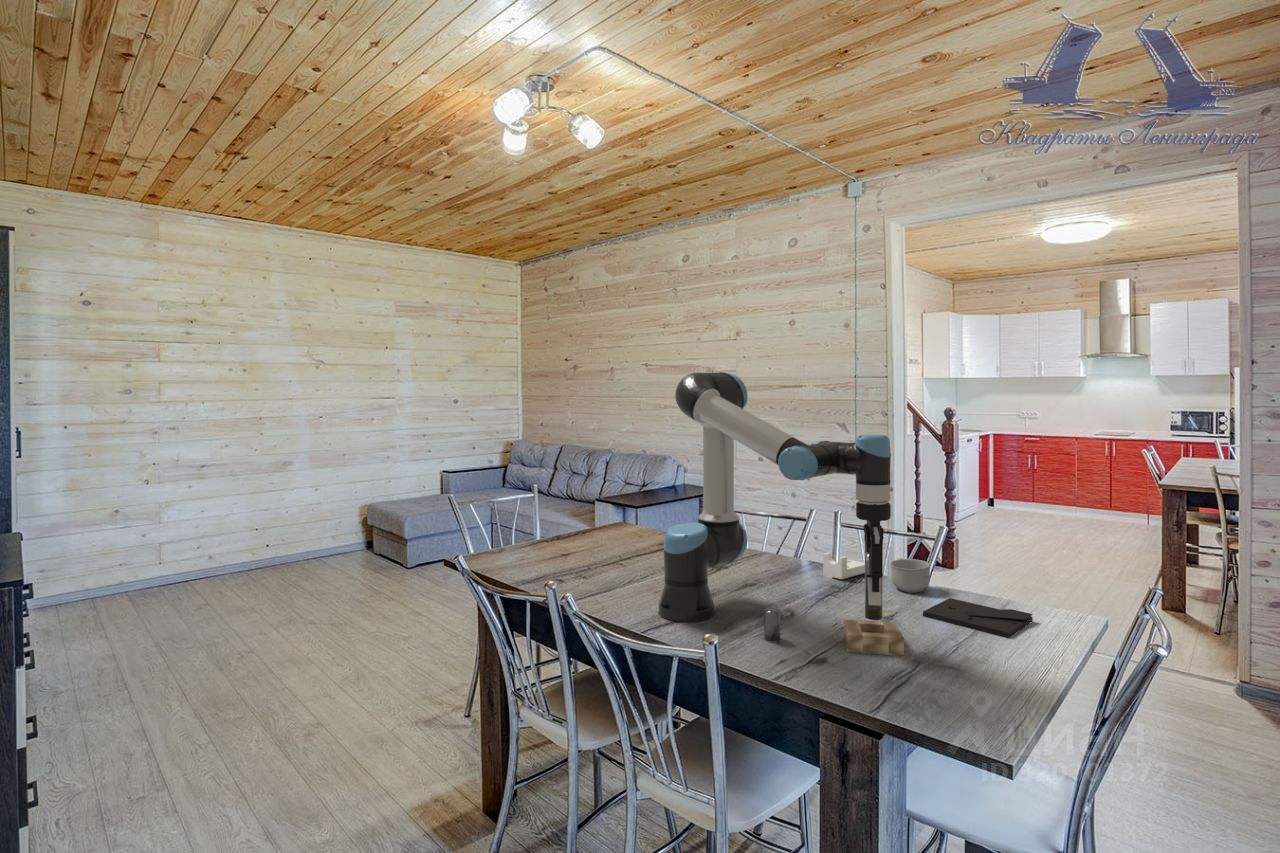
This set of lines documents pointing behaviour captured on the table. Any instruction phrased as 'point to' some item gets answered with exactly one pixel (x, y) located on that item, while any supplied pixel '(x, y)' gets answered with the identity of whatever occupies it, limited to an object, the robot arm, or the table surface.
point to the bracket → (841, 567)
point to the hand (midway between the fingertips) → (873, 601)
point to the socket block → (873, 637)
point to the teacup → (910, 574)
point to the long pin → (870, 610)
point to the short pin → (772, 624)
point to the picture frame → (979, 617)
